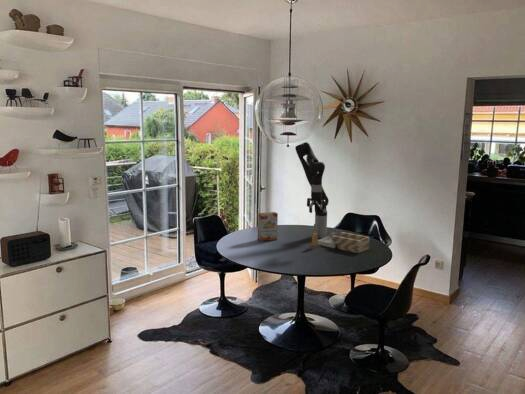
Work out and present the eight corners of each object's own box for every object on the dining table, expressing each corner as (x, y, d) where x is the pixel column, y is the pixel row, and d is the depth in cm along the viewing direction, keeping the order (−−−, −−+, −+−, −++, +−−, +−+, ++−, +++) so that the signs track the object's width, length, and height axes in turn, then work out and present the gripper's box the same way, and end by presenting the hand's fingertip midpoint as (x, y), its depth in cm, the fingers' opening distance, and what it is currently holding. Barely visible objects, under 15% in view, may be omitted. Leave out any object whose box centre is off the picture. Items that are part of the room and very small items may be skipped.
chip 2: (333, 244, 328) (328, 243, 330) (336, 243, 331) (331, 242, 333) (333, 239, 327) (329, 238, 330) (336, 238, 330) (331, 237, 333)
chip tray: (316, 244, 330) (316, 240, 329) (328, 240, 342) (328, 236, 342) (334, 248, 321) (334, 244, 320) (345, 243, 333) (345, 239, 332)
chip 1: (329, 238, 329) (329, 233, 328) (332, 237, 332) (332, 232, 331) (334, 239, 326) (334, 234, 326) (337, 238, 329) (337, 233, 329)
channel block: (331, 247, 323) (331, 235, 321) (341, 243, 334) (342, 231, 333) (358, 253, 309) (359, 241, 308) (368, 248, 320) (369, 236, 319)
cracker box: (260, 241, 336) (260, 214, 332) (257, 239, 341) (257, 212, 338) (277, 240, 341) (277, 213, 337) (274, 238, 347) (274, 211, 343)
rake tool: (309, 248, 319) (309, 234, 318) (315, 246, 325) (315, 232, 323) (313, 249, 317) (314, 235, 315) (319, 247, 322) (320, 233, 321)
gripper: (305, 190, 315) (304, 213, 318) (322, 192, 306) (321, 215, 309) (310, 189, 321) (310, 211, 323) (328, 191, 312) (327, 214, 315)
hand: (316, 213), depth 316 cm, fingers open, 8 cm apart
